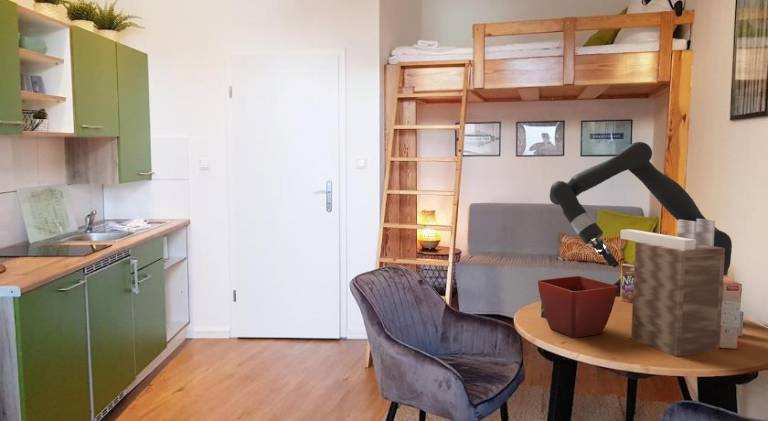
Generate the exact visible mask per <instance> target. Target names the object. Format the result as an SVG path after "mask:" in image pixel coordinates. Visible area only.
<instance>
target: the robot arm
mask: <svg viewBox="0 0 768 421" xmlns="http://www.w3.org/2000/svg"><path fill="white" fill-rule="evenodd" d="M652 156H653V150H652V147H651V146H650V145H649V144H648V143H646V142H642V141H635V142H632V143H631V144H628V145H626V146H625V147H624V148H622V149H621V150H620V152H619V153H618V154H617V155H615V156H612V157H611V158H609V159H607V160H605V161H603V162H600V163H598V164H596V165H593V166H591V167H588V168H586V169H584V170H582V171H581V172H578V173H577V174H574V175H573V176H572V177H571V178H570V180H568V181H567V182H566V181H562V180H557V181H555V182H553V184H552V185H551V186H550V191H549V192H550V193H549V200H550V202H551V203H552V204H554V205H556V206H560V207H561V209H562V213H563V216H564V217H565V218H566V219H567V221H568V222H569V224H570V225H571V226H572V228H573V230H574V231H575V233H576V234H577V236H578V237H579V238H580V239H581V241H582V242H583V243H584V244H585V245H590V244H591V245H592V248H593V249H594V250H595V251H596V253H597V254H598V255H599V256H601V257H602V258H603V259H604V260H605V261H606V263H607V265H608V266H612V267H613V268H617V267H619V266H620V263H619V262H618V260H617V259H616V258H615V257H614V253H613V252H612V251H611V249H610V247H609V246H608V245H607V243H606V242H605V240H603V239H600V238H601V237H602V236H603V234H604V231H603V230H602V229H601V227H600V226H599V225H598V223H597V222H596V221H595V220H594V218H593V217H592V216H591V215H590V214H589V213H588V212H587V210H586V209H585V208H584V206H582V204H581V203H580V202H579V199H578V198H577V197H578V196H580V195H581V194H582V193H584V192H586V191H588V190H591V189H592V188H595V187H597V186H598V185H600V184H602V183H603V182H605V181H607V180H610V179H611V178H613V177H615V176H616V175H619V174H621V173H623V172H625V171H629V172H630V173H631V174H632V175H634V176H635V177H636V178H637V179H638V180H639V181H640V182H641V183H642V184H643V185H644V186H645V188H647V190H648V191H649V192H650V193H651V194H652V195H653V197H655V199H656V200H657V201H658V202H659V204H661V205H662V207H663V208H664V209H665V210H666V211H667V212H668V213H669V214H670V215H671V216H672V217H673V218H674V219H675V220H677V221H678V220H687V221H695V222H696V221H697V219H705V220H708V219H707V218H706V217H705V216H704V215H703V214H702V213H701V211H700V209H699V207H698V206H697V204H696V203H695V202H696V201H695V200H694V199H693V198H692V196H690V194H689V193H688V192H687V191H686V190H685V188H683V187H682V186H681V185H680V184H679V183H678V182H677V181H675V180H674V179H672V178H671V177H670V176H668V175H667V174H664V173H662V172H661V171H660V170H658V169H657V168H656V167H655V166H654V164H652V162H651V159H652ZM695 239H696V238H695ZM714 246H716V247H722V248H725V259H724V275H723V276H726V277H728V274H729V269H730V267H731V260H732V252H733V249H732V248H733V243H732V239H731V237H730V236H729V234H727V233H726V232H724V231H722V230H721V229H718V227H716V226H715V231H714ZM728 278H729V277H728Z"/></svg>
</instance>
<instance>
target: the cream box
mask: <svg viewBox="0 0 768 421" xmlns="http://www.w3.org/2000/svg"><path fill="white" fill-rule="evenodd" d="M619 238H620V239H621V240H626V241H633V242H635V243H637V242H642V243H647V244H653V245H658V246H663V247H669V248H674V249H679V250H695V247H696V240H695V239H688V238H682V237H677V236H676V235H671V234H670V235H669V234H663V233H657V232H651V231H645V230H638V229H632V228H631V229H630V228H629V229H628V228H627V229H626V228H625V229H620V237H619Z"/></svg>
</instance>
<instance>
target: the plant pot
mask: <svg viewBox="0 0 768 421" xmlns="http://www.w3.org/2000/svg"><path fill="white" fill-rule="evenodd" d="M537 286H538V291H539V292H538V293H539V297H540V303H541V302H542V306H543V310H544V313H545V316H546V317H545V319H546V321H547V324H548V326H549V329H552V330H554V331H556V332H559V333H561V334H563V335H566V336H569V337H571V338H583V337H589V336H594V335H595V336H596V335H601V334H603V332H604V330H605V328H606V326H607V323H609V322H608V321H609V318H610V317H611V313H612V310H613V308H614V304H615V300H616V297H617V292H618V288H619V287H618V285H615V284H612V283H608V282H605V281H600V280H596V279H592V278H588V277H585V276H581V275H574V276H564V277H556V278H547V279H538V280H537Z"/></svg>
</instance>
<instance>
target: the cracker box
mask: <svg viewBox="0 0 768 421" xmlns="http://www.w3.org/2000/svg"><path fill="white" fill-rule="evenodd" d="M742 291H743V284H742V283H740V282H738V281H735V280H734V279H731V278H729V277H726V276H723V292H722V308H721V325H720V342H719V349H720V348H721V349H731V350H732V349H733V350H737V349H739V348H738V346H739V336H738V334H739V321H740V309H741V306H742V305H741V303H742Z"/></svg>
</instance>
